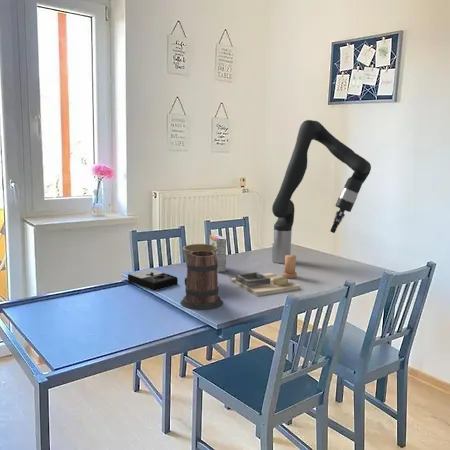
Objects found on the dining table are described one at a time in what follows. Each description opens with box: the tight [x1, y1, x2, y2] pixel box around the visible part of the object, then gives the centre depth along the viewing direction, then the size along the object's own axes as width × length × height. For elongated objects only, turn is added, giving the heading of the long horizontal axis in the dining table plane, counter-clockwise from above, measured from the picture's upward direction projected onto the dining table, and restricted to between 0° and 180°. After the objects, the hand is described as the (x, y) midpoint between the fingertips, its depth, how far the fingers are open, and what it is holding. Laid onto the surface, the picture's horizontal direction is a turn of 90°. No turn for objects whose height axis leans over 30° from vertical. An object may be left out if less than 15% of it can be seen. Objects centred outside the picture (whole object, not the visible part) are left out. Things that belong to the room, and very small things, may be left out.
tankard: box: [180, 251, 224, 311], centre depth 184 cm, size 24×17×20 cm
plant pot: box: [182, 243, 217, 267], centre depth 207 cm, size 15×15×16 cm
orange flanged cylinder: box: [282, 254, 298, 280], centre depth 219 cm, size 6×6×10 cm
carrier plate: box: [230, 271, 301, 297], centre depth 206 cm, size 22×22×4 cm
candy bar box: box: [208, 234, 227, 273], centre depth 229 cm, size 11×5×16 cm, turn 22°
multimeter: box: [127, 268, 178, 291], centre depth 207 cm, size 13×19×5 cm
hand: (332, 231), depth 219 cm, fingers open, 8 cm apart
